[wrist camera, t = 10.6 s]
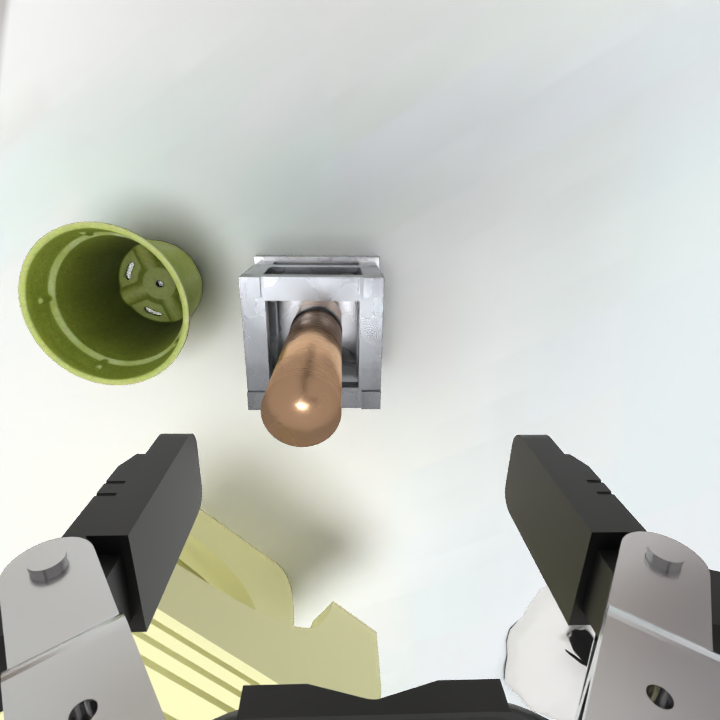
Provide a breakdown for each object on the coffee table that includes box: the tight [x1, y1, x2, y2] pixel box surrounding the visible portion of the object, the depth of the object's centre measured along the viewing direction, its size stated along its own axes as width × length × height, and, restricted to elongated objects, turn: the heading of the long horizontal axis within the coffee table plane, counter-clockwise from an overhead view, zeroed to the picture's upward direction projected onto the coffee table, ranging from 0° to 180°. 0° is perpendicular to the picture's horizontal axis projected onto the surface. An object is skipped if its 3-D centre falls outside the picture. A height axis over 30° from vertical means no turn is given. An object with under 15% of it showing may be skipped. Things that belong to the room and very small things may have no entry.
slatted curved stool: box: [0, 509, 381, 720], centre depth 35 cm, size 30×16×18 cm, turn 135°
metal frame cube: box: [238, 255, 384, 410], centre depth 32 cm, size 9×9×8 cm
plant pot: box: [18, 222, 202, 385], centre depth 30 cm, size 9×9×9 cm
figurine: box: [505, 586, 595, 720], centre depth 41 cm, size 20×18×16 cm
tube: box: [261, 301, 342, 447], centre depth 27 cm, size 4×4×16 cm
